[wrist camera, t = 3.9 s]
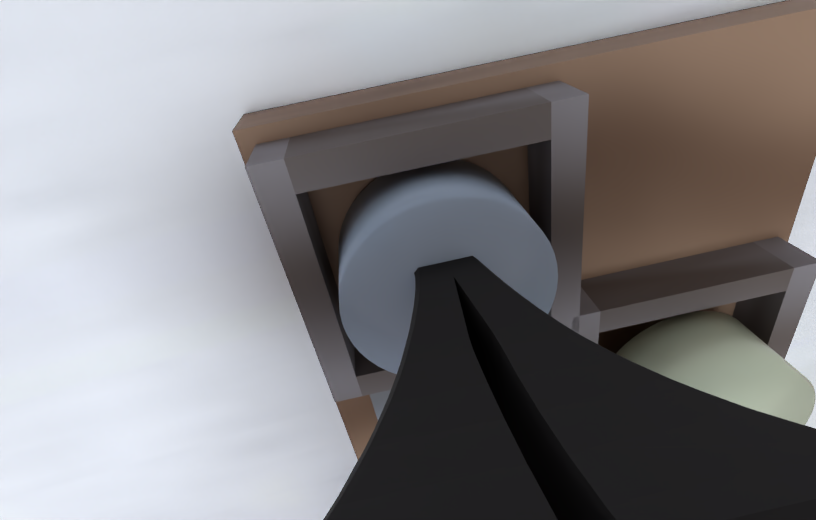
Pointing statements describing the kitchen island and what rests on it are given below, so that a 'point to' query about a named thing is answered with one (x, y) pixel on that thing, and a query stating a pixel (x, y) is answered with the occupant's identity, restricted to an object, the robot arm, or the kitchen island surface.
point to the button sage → (723, 363)
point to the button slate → (431, 248)
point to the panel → (576, 177)
